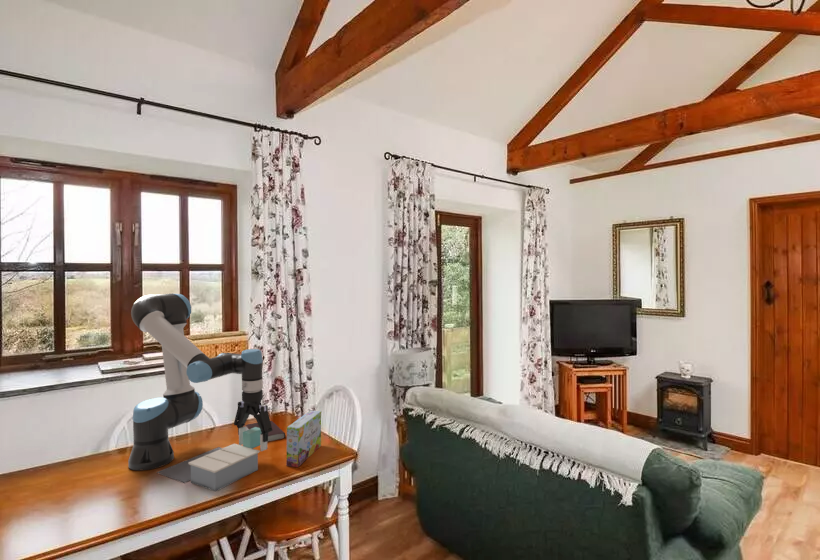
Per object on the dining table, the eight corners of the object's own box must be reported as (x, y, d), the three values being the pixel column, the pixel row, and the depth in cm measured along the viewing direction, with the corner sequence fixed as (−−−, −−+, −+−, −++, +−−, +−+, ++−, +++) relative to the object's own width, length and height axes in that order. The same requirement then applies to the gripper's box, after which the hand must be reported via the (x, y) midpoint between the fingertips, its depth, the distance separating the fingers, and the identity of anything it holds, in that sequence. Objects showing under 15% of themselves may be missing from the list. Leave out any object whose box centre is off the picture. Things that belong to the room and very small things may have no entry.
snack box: (299, 468, 164) (299, 427, 163) (285, 466, 165) (285, 426, 164) (322, 445, 184) (321, 410, 184) (309, 444, 185) (309, 409, 185)
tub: (190, 482, 152) (190, 463, 152) (234, 462, 168) (233, 445, 168) (215, 491, 146) (215, 472, 146) (257, 469, 162) (257, 452, 162)
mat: (156, 473, 160) (156, 472, 160) (218, 447, 182) (218, 447, 182) (184, 483, 152) (184, 482, 152) (245, 455, 175) (245, 454, 175)
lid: (188, 464, 152) (188, 447, 152) (246, 439, 174) (246, 424, 174) (214, 473, 145) (214, 455, 145) (272, 446, 167) (271, 430, 167)
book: (272, 426, 209) (272, 419, 209) (285, 438, 193) (285, 431, 193) (245, 431, 202) (245, 424, 202) (256, 445, 186) (256, 437, 186)
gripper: (223, 388, 170) (224, 444, 170) (266, 396, 159) (267, 456, 159) (239, 384, 177) (240, 438, 177) (282, 391, 165) (282, 449, 166)
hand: (252, 446), depth 168 cm, fingers open, 11 cm apart
